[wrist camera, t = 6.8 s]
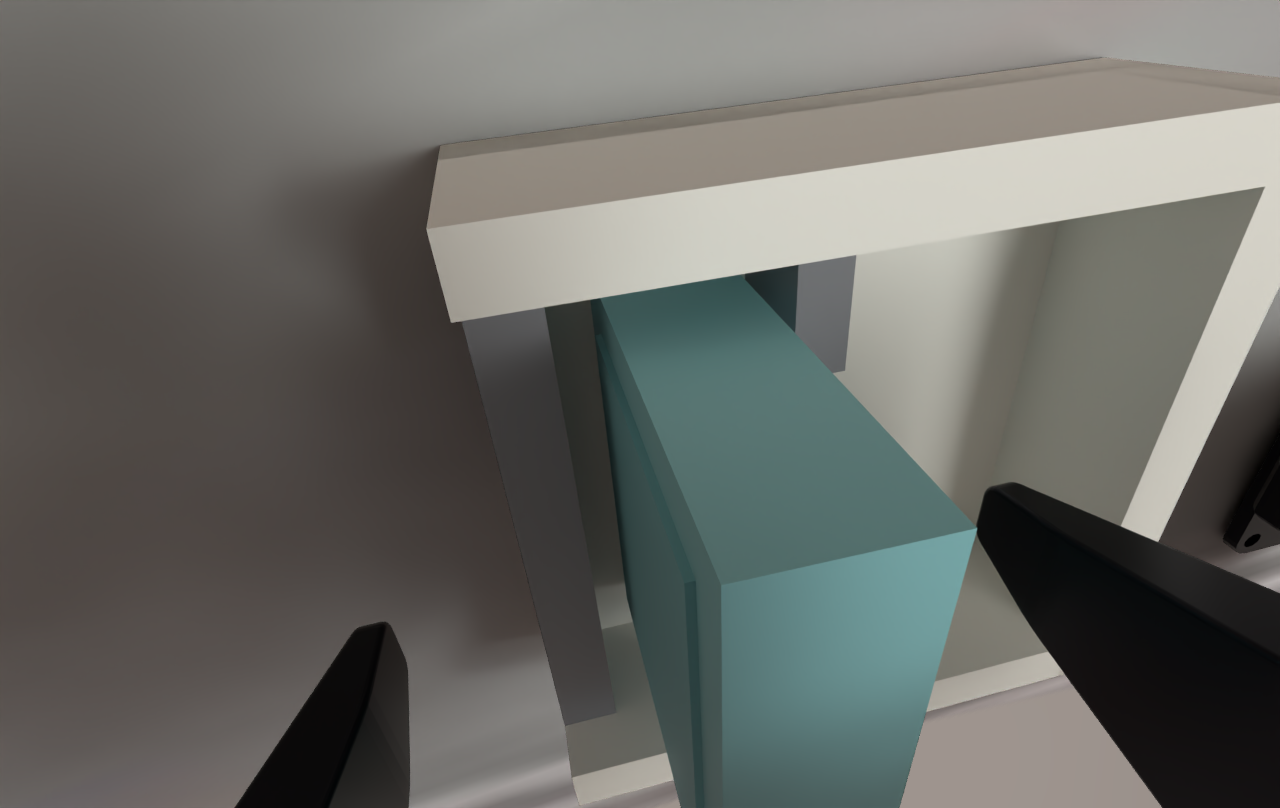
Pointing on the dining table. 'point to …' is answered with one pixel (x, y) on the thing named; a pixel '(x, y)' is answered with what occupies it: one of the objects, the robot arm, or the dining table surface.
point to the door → (770, 554)
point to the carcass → (875, 315)
